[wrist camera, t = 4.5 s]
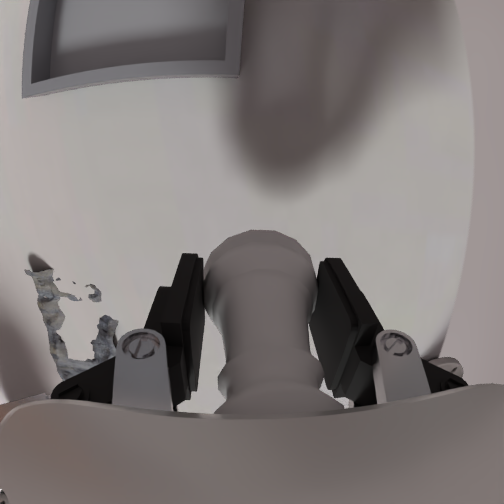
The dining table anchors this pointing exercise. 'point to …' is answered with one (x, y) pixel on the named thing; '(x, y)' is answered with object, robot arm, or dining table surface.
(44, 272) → the driftwood
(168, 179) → the dining table surface
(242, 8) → the gray rectangular open tray
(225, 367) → the rook chess piece
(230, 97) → the dining table surface
